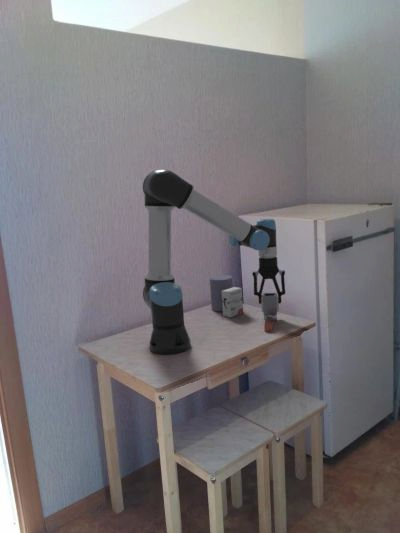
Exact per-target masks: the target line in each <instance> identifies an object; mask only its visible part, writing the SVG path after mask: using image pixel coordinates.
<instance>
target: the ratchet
mask: <svg viewBox="0 0 400 533" xmlns="http://www.w3.org/2000/svg"><path fill="white" fill-rule="evenodd" d="M263 320H265V321H264V325H263V326H264V332H267V333H268V332H271V333H272V332H273V329H274V322H276V321H275V320H277V321H278V314H277V315H264V314H263ZM273 321H274V322H273Z"/></svg>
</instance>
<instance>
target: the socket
mask: <svg viewBox="0 0 400 533" xmlns="http://www.w3.org/2000/svg"><path fill="white" fill-rule="evenodd" d="M262 295H263V312H262V313H263V316H264V315H277V316H278V312H277V301H276V295H278V294H277V292H262Z"/></svg>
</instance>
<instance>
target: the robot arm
mask: <svg viewBox="0 0 400 533" xmlns="http://www.w3.org/2000/svg"><path fill="white" fill-rule="evenodd" d="M142 192H143V195H144V208H146V209H147V211H148V273H147V274H145V276H144V287H143V288H142V289H143V290H142V298H143V301H144V303H145V304H146V306H148V308H149V309H150V311H151V313H150V314H151V321H152V323H151V324H152V331H151V336H150V340H149V350H150V352H152V353H154V354H157V355H175V354H179V353H183V352H186V351H187V350H189V349H190V348H191V338H190V336H189V333H188V331H187V328H186V325H185V317H184V316H185V315H184V304H183V303H184V302H183V300H184V299H183V296H184V295H183V291H182V287H181V286H180V285H179V284H178V283H175V280H176V279H175V278H176V277H175V276H174V275H173V274H172V272H171V269H172V267H171V266H172V211H173V210H174V209H175V208H177V209H179V210H182V209H184V210H186V211H188V212H189V213H191V214H193V215H194V216H196V217H197V218H199V219H201V220H203V221H205V222H207V223H208V224H209V225H211V226H213V227H215V228H217V229H218V230H220V231H222V232H224V233H225V234H227V235H228V241H229V244H230V245H231V246H232V247H246V248H250V249H253V250H255V251H258V269H257V270H253V271H252V273H251V274H252V277H253V295H254V296H256V297H257V298H258V304H259V305H261V313H263V289H264V286H265V283H266V282H265V281H266V280H272V282H273V285H274V288H275V291H276V293H277V295H276V301H277V313H278V312H280V304H281V303H282V296H283V295H286V285H285V284H286V282H285V274H286V270H284V269H279V267H278V266H279V265H278V257H277V255H278V249H277V247H278V246H277V225H276V221H275V219H274V218H261V219H258V220H257V221H256V224H254V225H253V224H251V223H250V222H248V221H246V220H244V219H243V218H242V217H240V216H238V215H236V214H234V213H233V212H231V211H230V210H228V209H226V208H225V207H223V206H221V205H220V204H219V203H217V202H215V201H214V200H212V199H210V198H208V197H207V196H205V195H204V194H201V193H200V192H198V191H197V190H195V187H194V185H193V184H191V183H189V182H188V181H187V180H185V179H184V178H183V177H181V176H180V175H178V174H177V173H176V172H173V171H172V170H169V169H159V170H153V171H151V172H149V173H148V174H147V175H146V176H145V178H144V180H143V183H142ZM259 274H260V276H261V282H260V287H259V291H258V276H259ZM277 274H279V276H280V282H281V290H280V286H279V283H278V281H277Z"/></svg>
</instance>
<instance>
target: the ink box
mask: <svg viewBox="0 0 400 533" xmlns="http://www.w3.org/2000/svg"><path fill="white" fill-rule="evenodd" d="M232 287H233V288H230V289H226V290H223V291H222V306H223V312H222V316H223V317H225V316H227V317H226V318H230V317H231V318H233V316H234V317H236V316H235V315H237V316H239V315H241V314H240V313H242V314H244V306H243V305H244V303H243V288H242V287H238V286H237V287H235V286H232ZM238 314H239V315H238Z"/></svg>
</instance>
